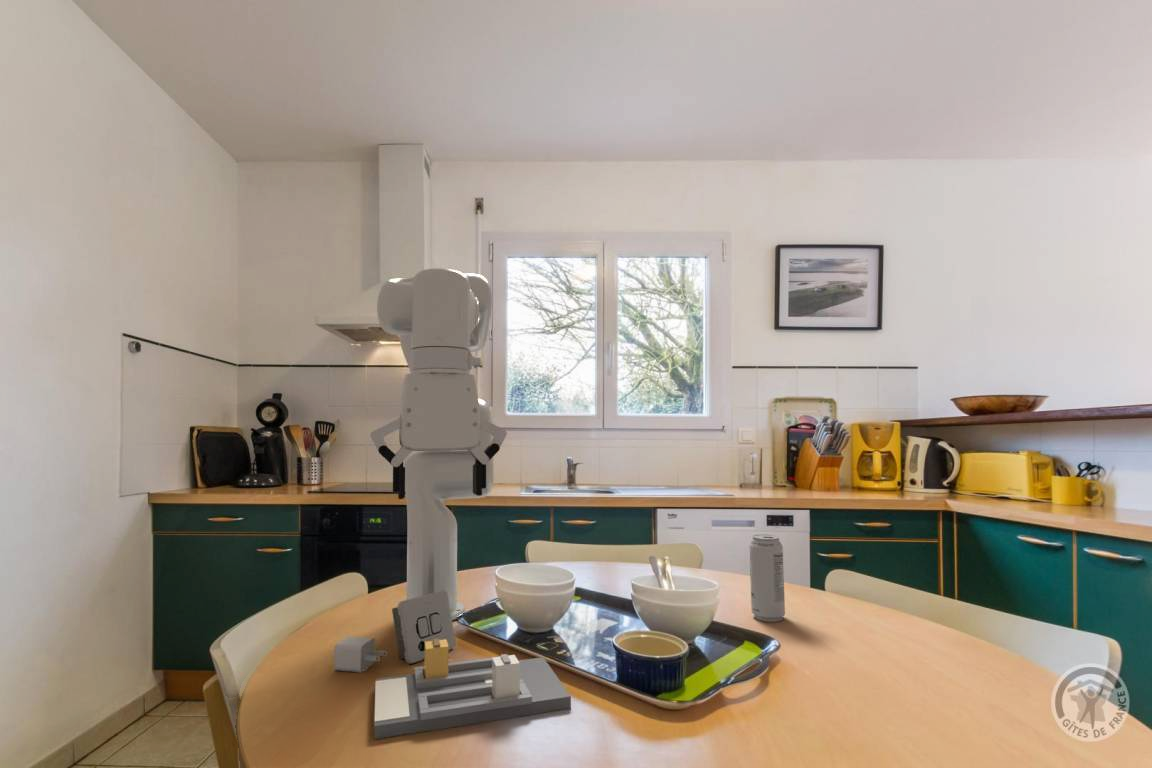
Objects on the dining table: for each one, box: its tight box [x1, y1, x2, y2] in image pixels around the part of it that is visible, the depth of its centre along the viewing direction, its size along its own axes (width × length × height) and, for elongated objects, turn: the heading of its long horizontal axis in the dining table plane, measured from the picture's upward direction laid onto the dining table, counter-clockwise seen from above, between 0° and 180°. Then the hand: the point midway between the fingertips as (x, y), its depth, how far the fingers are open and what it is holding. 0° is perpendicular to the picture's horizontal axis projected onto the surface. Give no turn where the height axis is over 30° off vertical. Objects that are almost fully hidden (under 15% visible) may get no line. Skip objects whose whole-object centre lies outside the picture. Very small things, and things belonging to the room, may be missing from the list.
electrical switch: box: [391, 591, 457, 665], centre depth 98 cm, size 9×5×9 cm, turn 141°
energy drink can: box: [749, 534, 786, 623], centre depth 114 cm, size 6×6×15 cm
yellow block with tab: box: [424, 638, 450, 679], centre depth 84 cm, size 3×3×5 cm
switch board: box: [373, 654, 572, 740], centre depth 81 cm, size 15×24×2 cm, turn 108°
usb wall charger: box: [333, 636, 388, 673], centre depth 92 cm, size 4×7×4 cm, turn 78°
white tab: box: [491, 653, 520, 699], centre depth 78 cm, size 3×3×5 cm
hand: (440, 496), depth 78 cm, fingers open, 9 cm apart
